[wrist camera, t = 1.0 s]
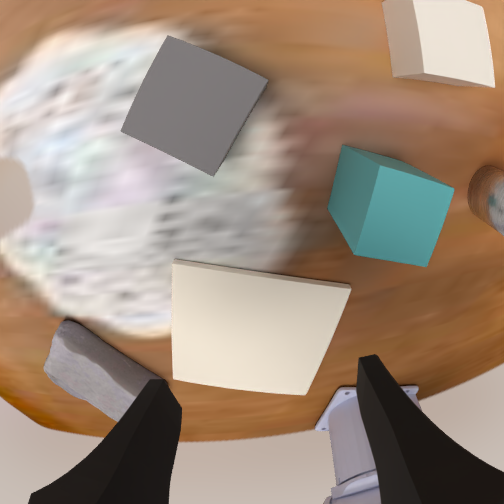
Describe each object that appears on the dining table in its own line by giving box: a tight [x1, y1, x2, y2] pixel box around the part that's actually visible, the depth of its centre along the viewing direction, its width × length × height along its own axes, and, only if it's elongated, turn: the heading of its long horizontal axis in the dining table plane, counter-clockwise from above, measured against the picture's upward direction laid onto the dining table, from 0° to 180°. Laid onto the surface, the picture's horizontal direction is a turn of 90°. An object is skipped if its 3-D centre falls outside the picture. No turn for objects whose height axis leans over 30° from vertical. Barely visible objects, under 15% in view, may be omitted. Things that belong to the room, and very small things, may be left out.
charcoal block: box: [121, 36, 268, 177], centre depth 14 cm, size 5×5×4 cm
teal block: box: [327, 145, 454, 267], centre depth 14 cm, size 4×4×6 cm
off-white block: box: [382, 0, 495, 88], centre depth 11 cm, size 5×5×4 cm
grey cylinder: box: [468, 166, 504, 236], centre depth 15 cm, size 4×4×4 cm
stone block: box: [44, 320, 167, 421], centre depth 25 cm, size 12×5×10 cm
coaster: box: [172, 259, 351, 395], centre depth 23 cm, size 12×12×1 cm
